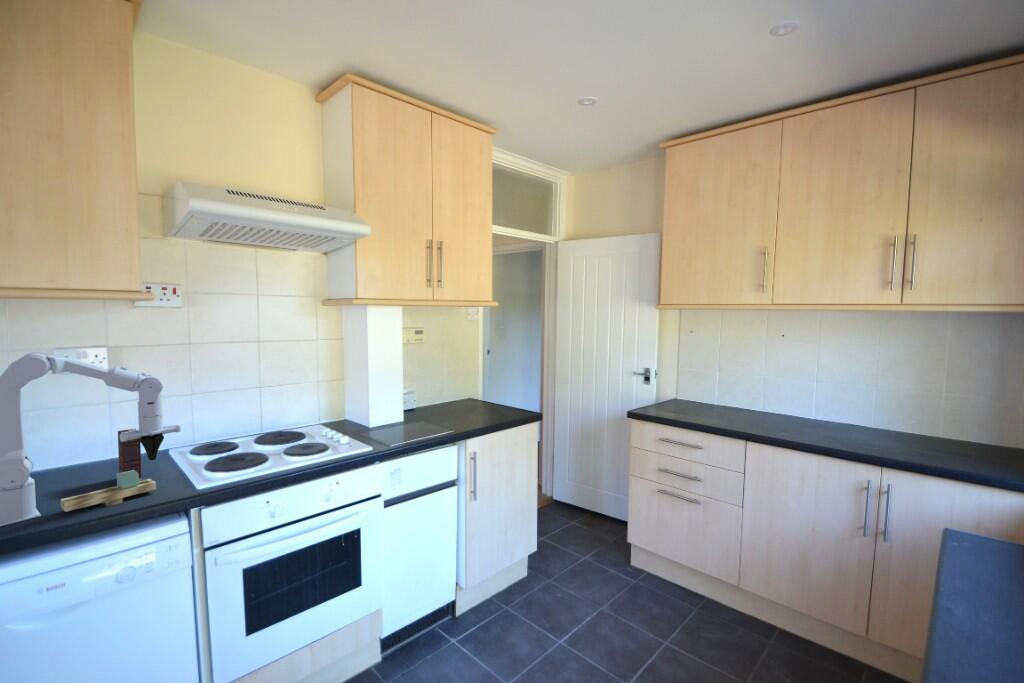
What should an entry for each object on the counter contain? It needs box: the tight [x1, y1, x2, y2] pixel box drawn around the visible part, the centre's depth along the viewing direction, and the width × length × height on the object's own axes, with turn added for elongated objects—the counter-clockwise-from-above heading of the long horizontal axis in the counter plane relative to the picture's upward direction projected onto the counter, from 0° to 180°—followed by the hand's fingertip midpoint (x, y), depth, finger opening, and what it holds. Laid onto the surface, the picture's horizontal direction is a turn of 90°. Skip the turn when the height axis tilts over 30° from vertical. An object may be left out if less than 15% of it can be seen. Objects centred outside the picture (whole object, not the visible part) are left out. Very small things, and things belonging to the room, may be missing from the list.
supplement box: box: [117, 428, 143, 481], centre depth 150 cm, size 9×5×16 cm, turn 48°
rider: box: [116, 470, 139, 489], centre depth 135 cm, size 4×5×5 cm
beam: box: [60, 478, 157, 513], centre depth 132 cm, size 20×6×4 cm, turn 144°
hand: (152, 459), depth 140 cm, fingers closed
